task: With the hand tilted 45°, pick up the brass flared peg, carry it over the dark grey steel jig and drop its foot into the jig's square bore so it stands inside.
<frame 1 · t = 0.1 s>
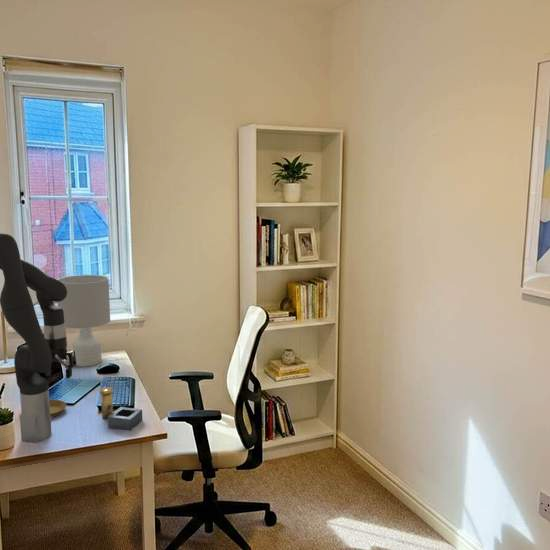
hand: (58, 376, 200), 17 cm above the table, tool pointing down, fingers open, 8 cm apart
jig: (125, 424, 200), on the table
brass flared peg: (107, 416, 207), on the table
lamp: (87, 362, 269), on the table
plant saucer: (46, 413, 210), on the table
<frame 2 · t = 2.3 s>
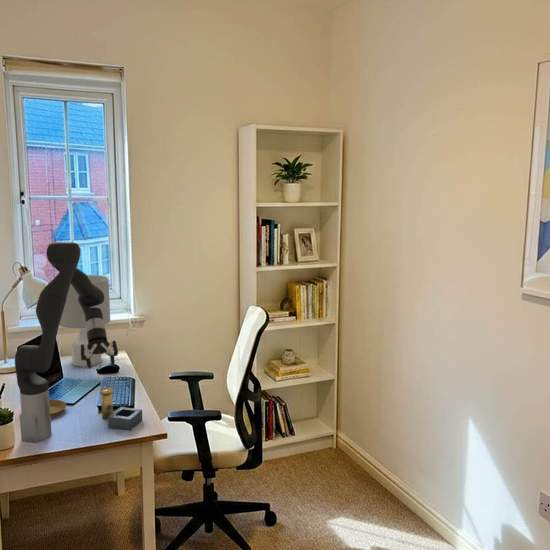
hand: (101, 366, 215), 16 cm above the table, tool tilted 45°, fingers open, 8 cm apart
nothing on the table moved.
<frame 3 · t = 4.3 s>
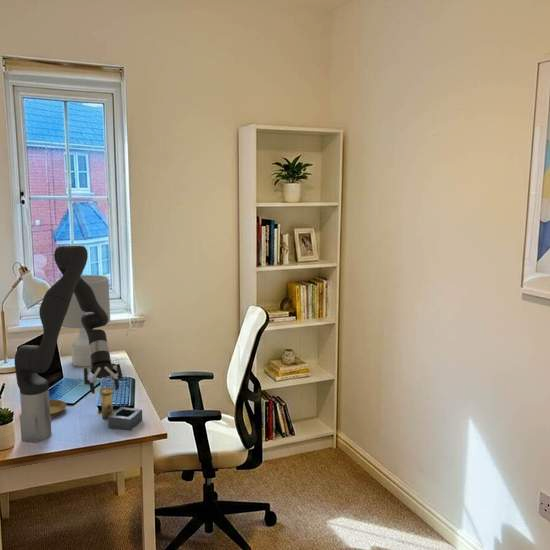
hand: (105, 391, 208), 9 cm above the table, tool tilted 45°, fingers open, 8 cm apart
nothing on the table moved.
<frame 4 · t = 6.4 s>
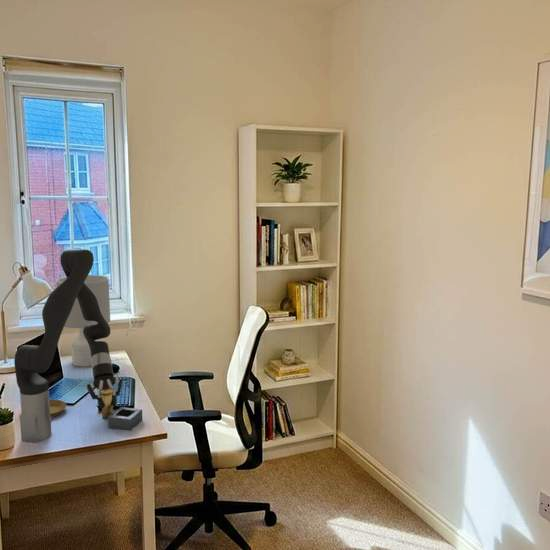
hand: (108, 406, 204), 5 cm above the table, tool tilted 45°, fingers closed on brass flared peg, 4 cm apart
brass flared peg: (107, 416, 207), on the table, touching gripper
everything else where it was.
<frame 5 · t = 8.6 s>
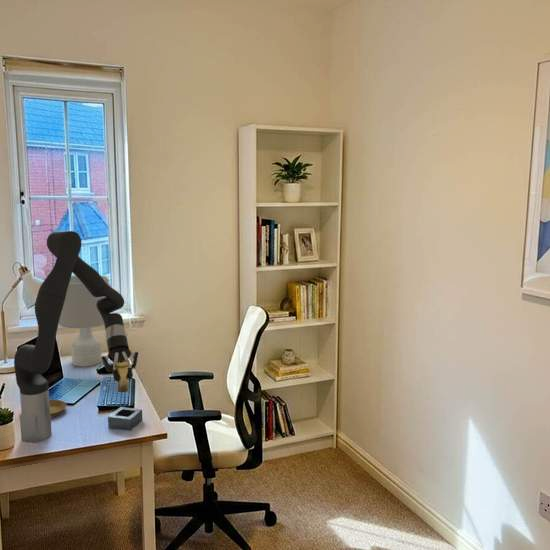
hand: (124, 379, 196), 18 cm above the table, tool tilted 45°, fingers closed on brass flared peg, 4 cm apart
brass flared peg: (123, 390, 199), point 13 cm above the table, touching gripper
everything else where it was.
when the fingers open (8 cm above the table, at t = 11.1 s): brass flared peg drops 1 cm, resting in jig.
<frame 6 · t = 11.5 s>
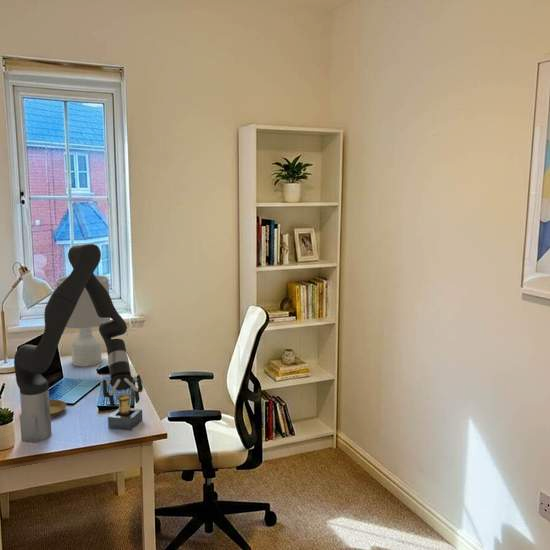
hand: (125, 404, 198), 8 cm above the table, tool tilted 45°, fingers open, 8 cm apart
brass flared peg: (125, 423, 201), resting in jig
everything else where it was.
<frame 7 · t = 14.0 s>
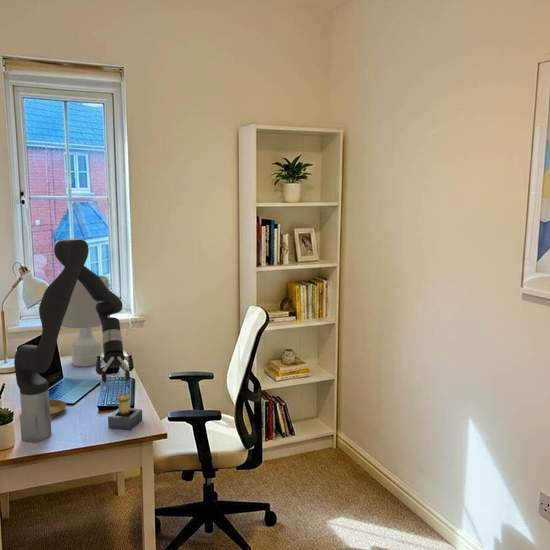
hand: (116, 381, 209), 13 cm above the table, tool tilted 40°, fingers open, 8 cm apart
nothing on the table moved.
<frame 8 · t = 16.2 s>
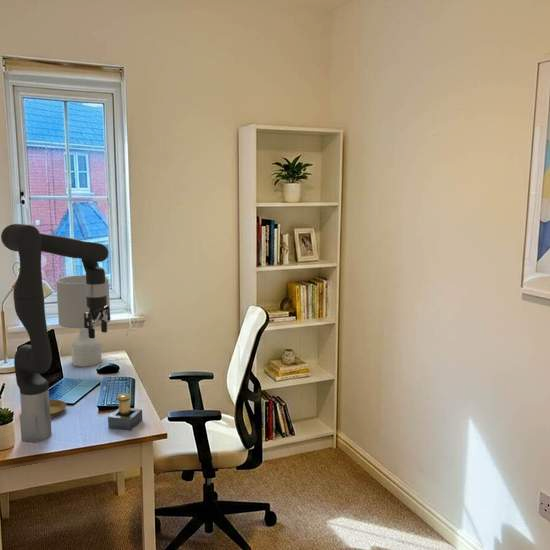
hand: (98, 335, 210), 30 cm above the table, tool pointing down, fingers open, 8 cm apart
nothing on the table moved.
at the end: brass flared peg 0.7 cm off-centre on the jig, point 0.0 cm above the jig's base; brass flared peg tilted 1°; the gripper is holding nothing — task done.
